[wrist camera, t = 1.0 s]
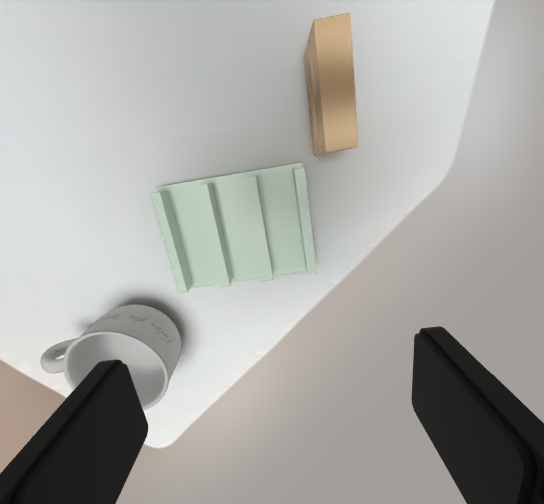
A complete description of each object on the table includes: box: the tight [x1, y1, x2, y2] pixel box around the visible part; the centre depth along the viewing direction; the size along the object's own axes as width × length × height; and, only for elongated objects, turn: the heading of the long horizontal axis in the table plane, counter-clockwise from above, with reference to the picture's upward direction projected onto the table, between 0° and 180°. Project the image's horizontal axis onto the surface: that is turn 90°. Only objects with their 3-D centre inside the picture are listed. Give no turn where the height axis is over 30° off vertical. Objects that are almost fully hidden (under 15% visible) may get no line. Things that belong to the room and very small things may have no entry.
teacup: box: [41, 305, 181, 410], centre depth 31 cm, size 14×11×8 cm
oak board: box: [304, 13, 358, 155], centre depth 24 cm, size 9×3×7 cm, turn 9°
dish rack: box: [150, 162, 317, 293], centre depth 30 cm, size 12×16×3 cm
